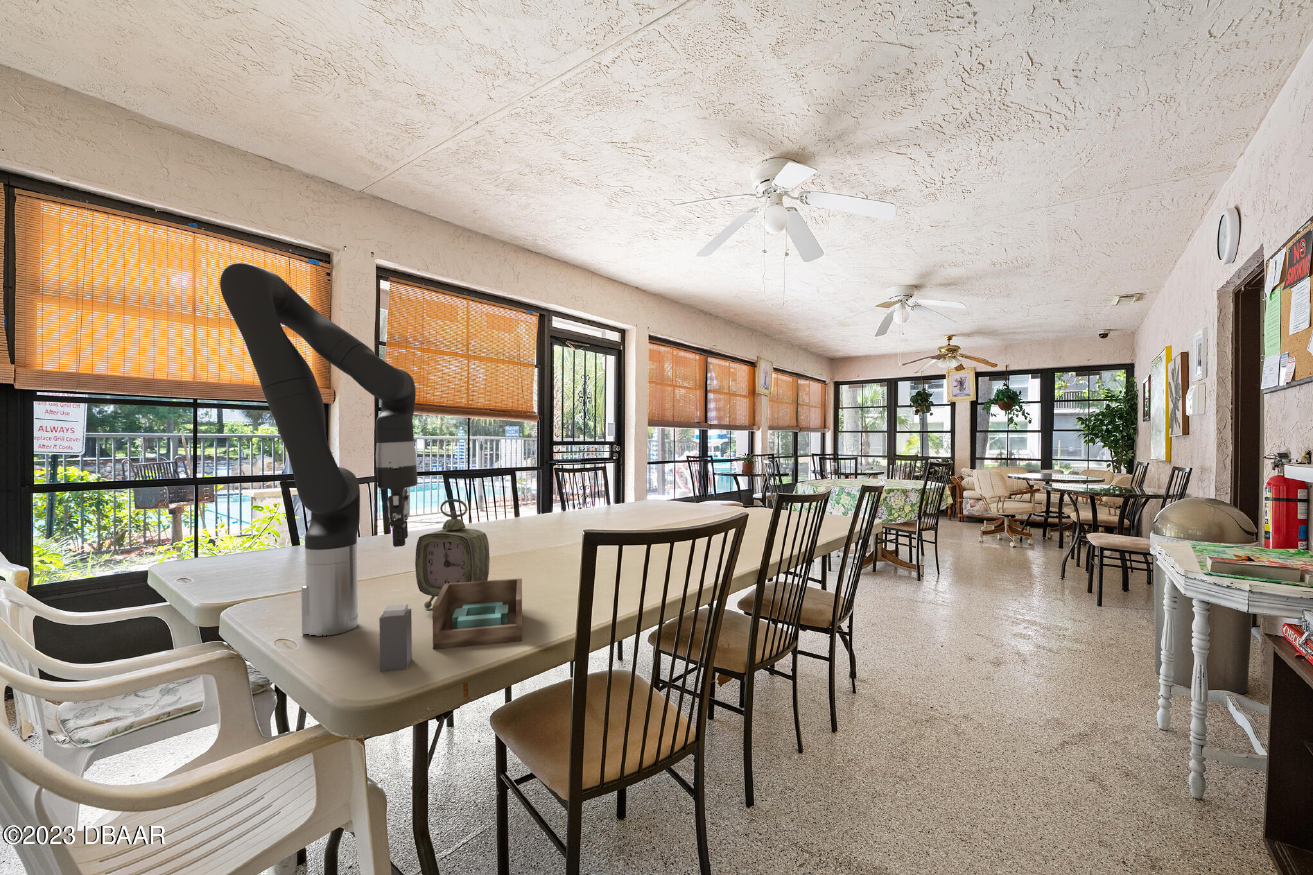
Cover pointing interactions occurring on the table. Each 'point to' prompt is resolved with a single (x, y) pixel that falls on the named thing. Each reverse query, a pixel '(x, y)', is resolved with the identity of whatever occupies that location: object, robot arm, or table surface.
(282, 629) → the table surface
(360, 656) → the table surface
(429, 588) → the tabletop clock
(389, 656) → the block
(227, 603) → the table surface
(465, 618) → the walled box
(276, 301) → the robot arm
